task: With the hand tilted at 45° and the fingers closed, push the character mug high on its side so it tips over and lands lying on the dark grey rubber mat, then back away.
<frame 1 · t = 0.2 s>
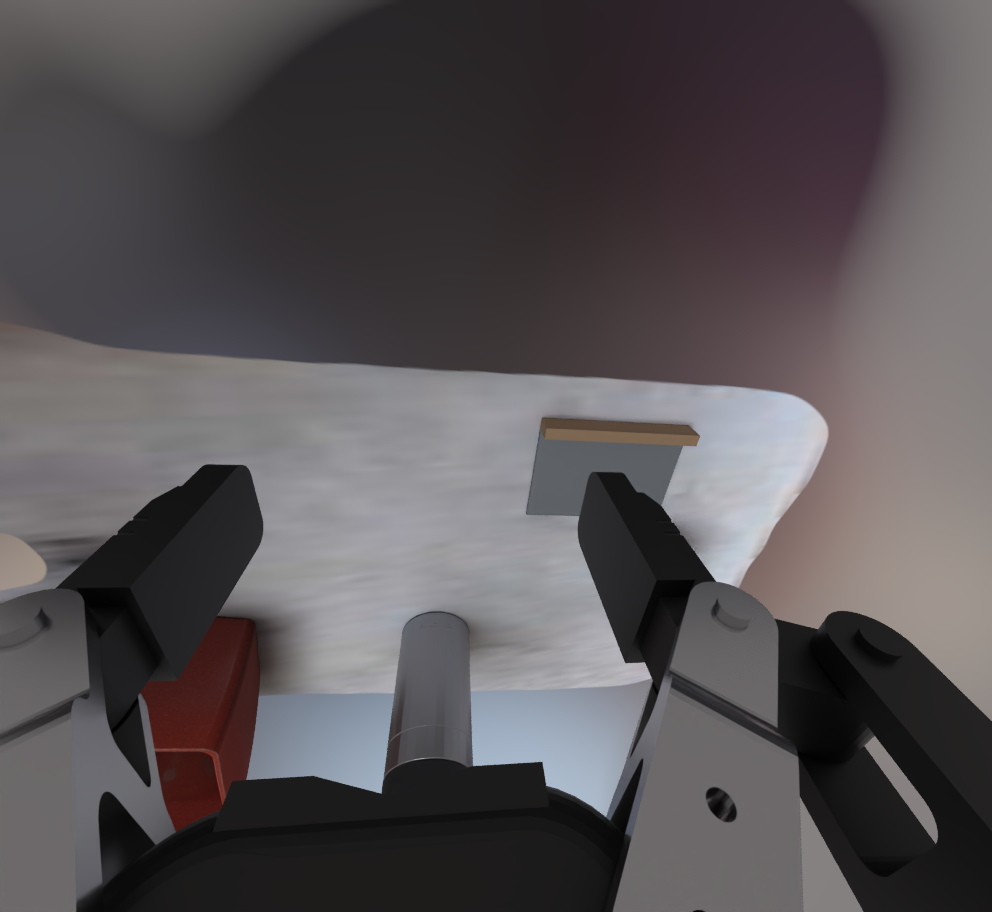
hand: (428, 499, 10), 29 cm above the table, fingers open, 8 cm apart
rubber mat: (602, 475, 46), on the table
plant pot: (209, 644, 54), on the table
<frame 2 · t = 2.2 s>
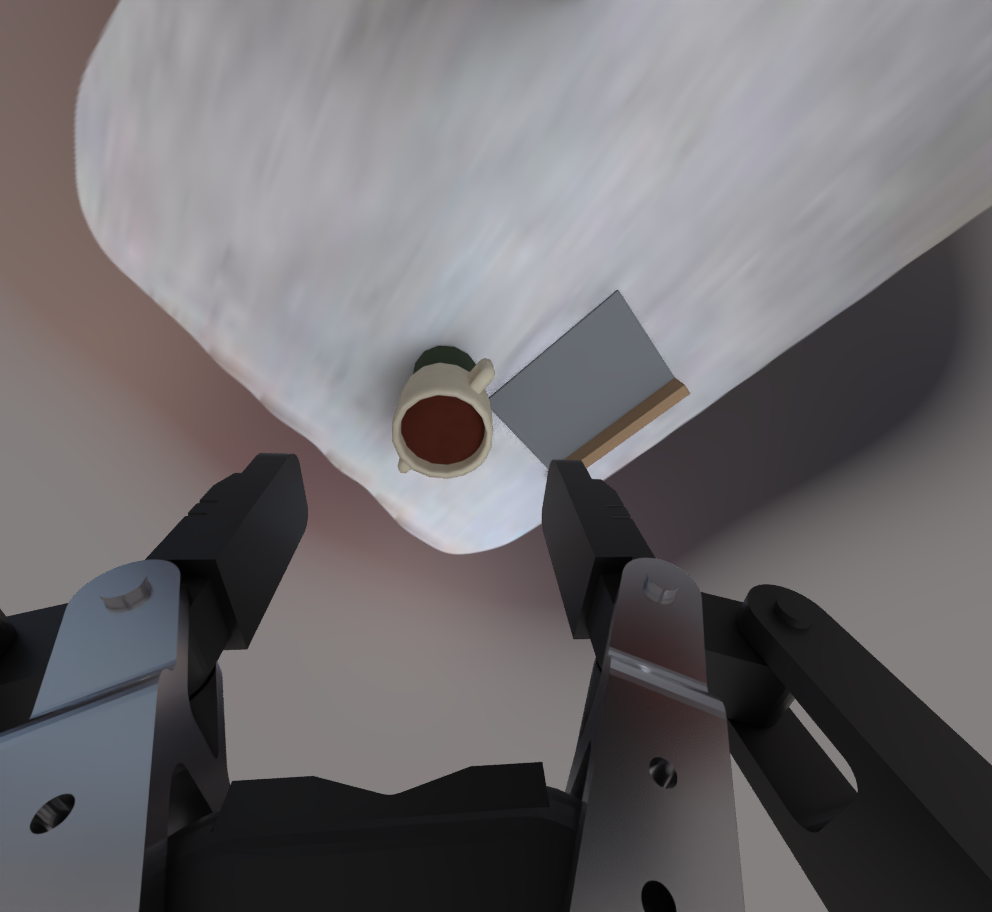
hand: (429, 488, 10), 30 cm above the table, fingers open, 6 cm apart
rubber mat: (579, 389, 41), on the table
character mug: (446, 375, 40), on the table
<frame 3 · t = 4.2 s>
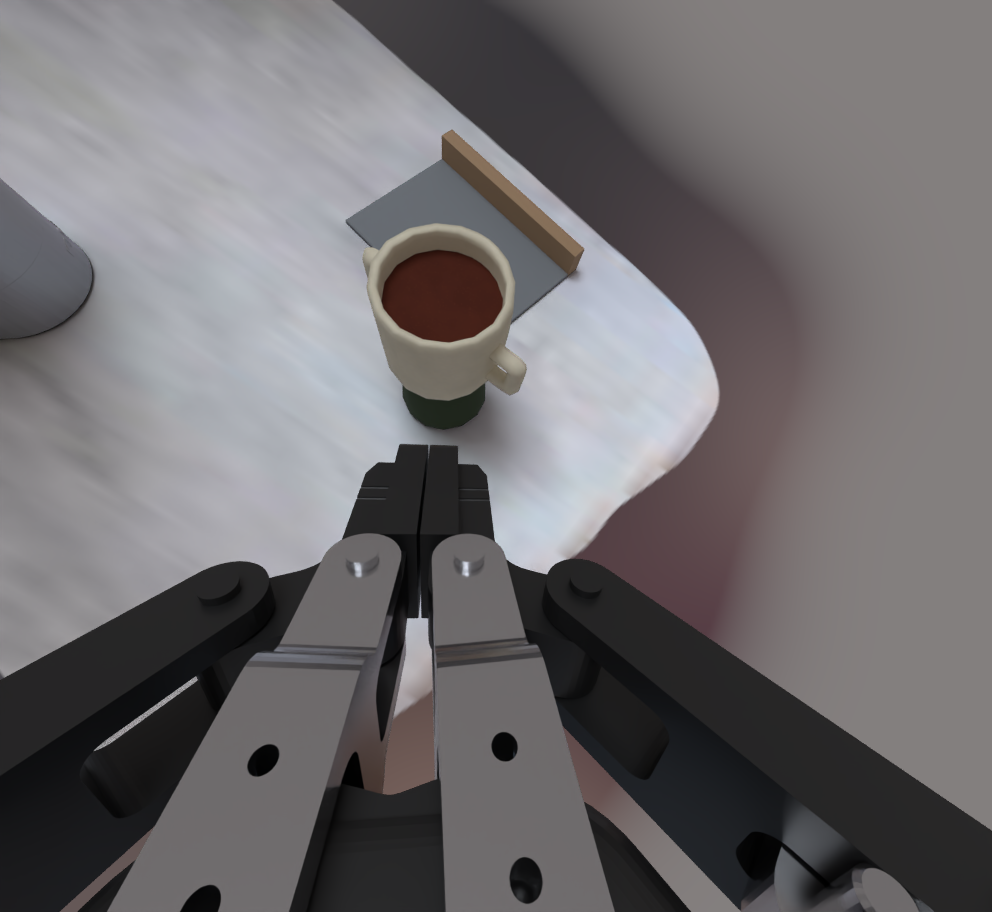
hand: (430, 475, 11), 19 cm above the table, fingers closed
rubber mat: (458, 250, 35), on the table
character mug: (444, 394, 32), on the table
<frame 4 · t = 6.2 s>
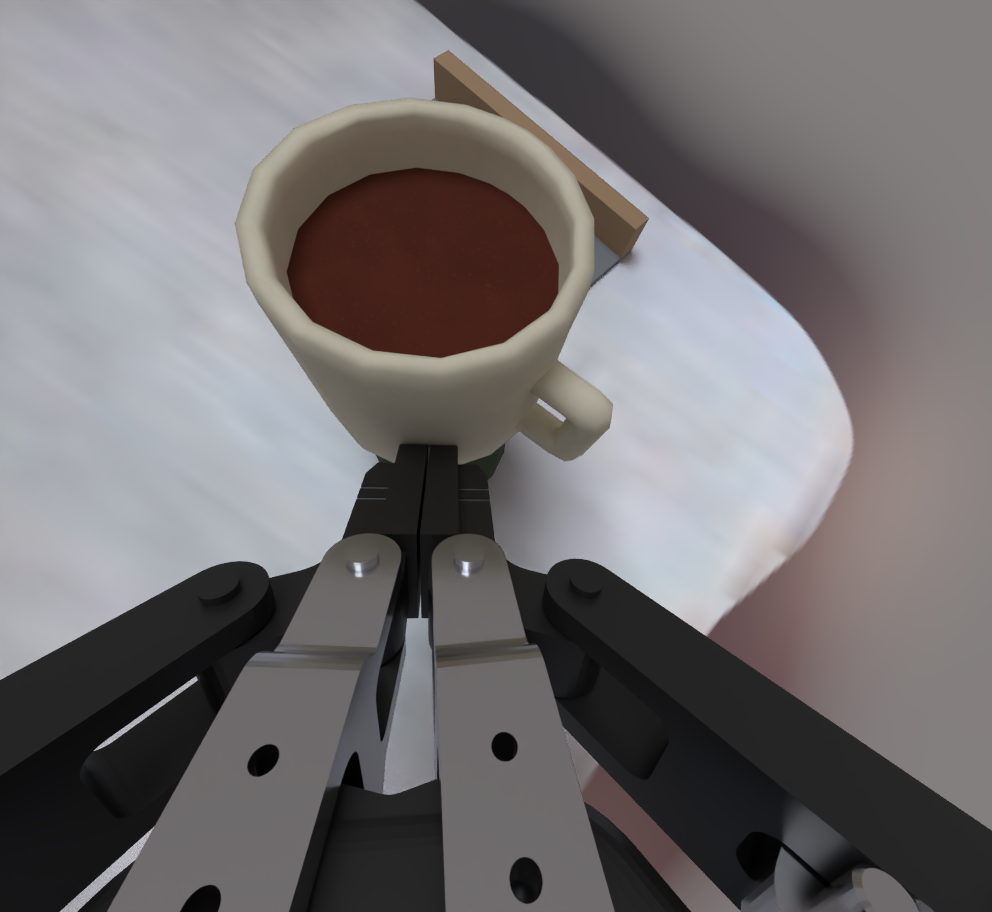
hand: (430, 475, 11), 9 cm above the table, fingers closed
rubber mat: (460, 225, 24), on the table
character mug: (440, 443, 20), on the table
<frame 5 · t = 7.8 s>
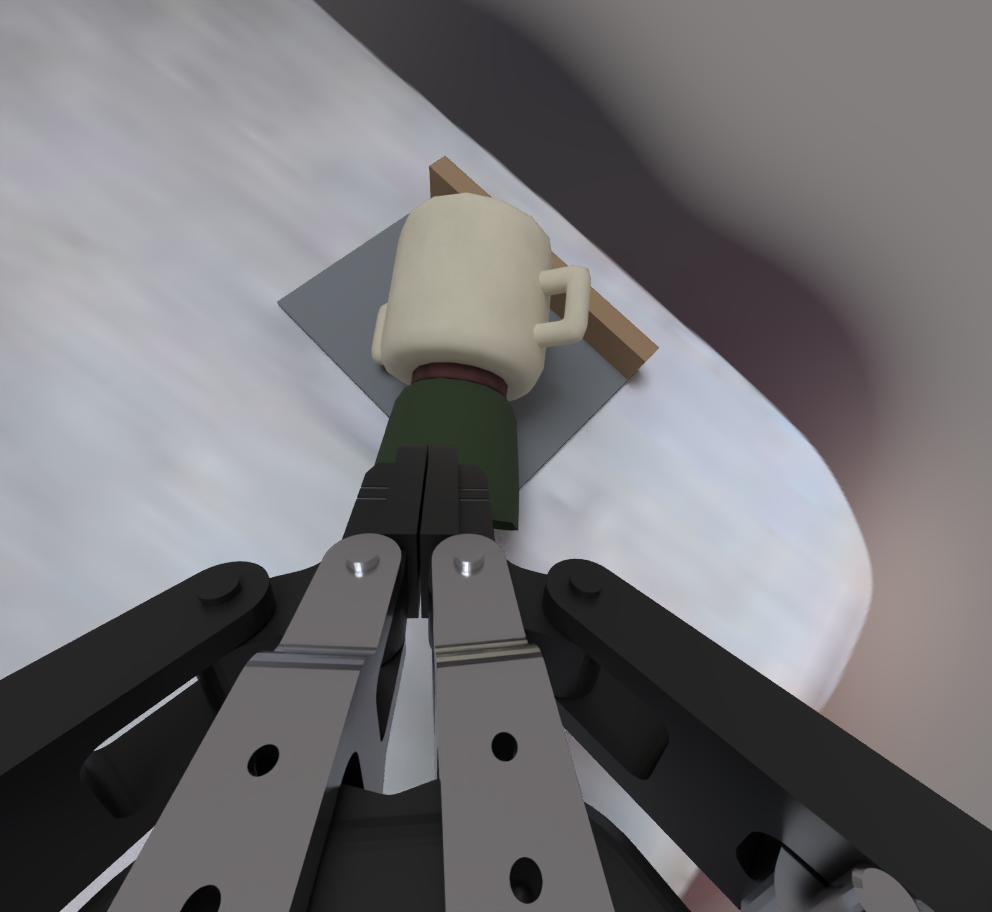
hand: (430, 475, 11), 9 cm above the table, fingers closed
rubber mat: (456, 344, 22), on the table
character mug: (439, 542, 17), point 3 cm above the table, touching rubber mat
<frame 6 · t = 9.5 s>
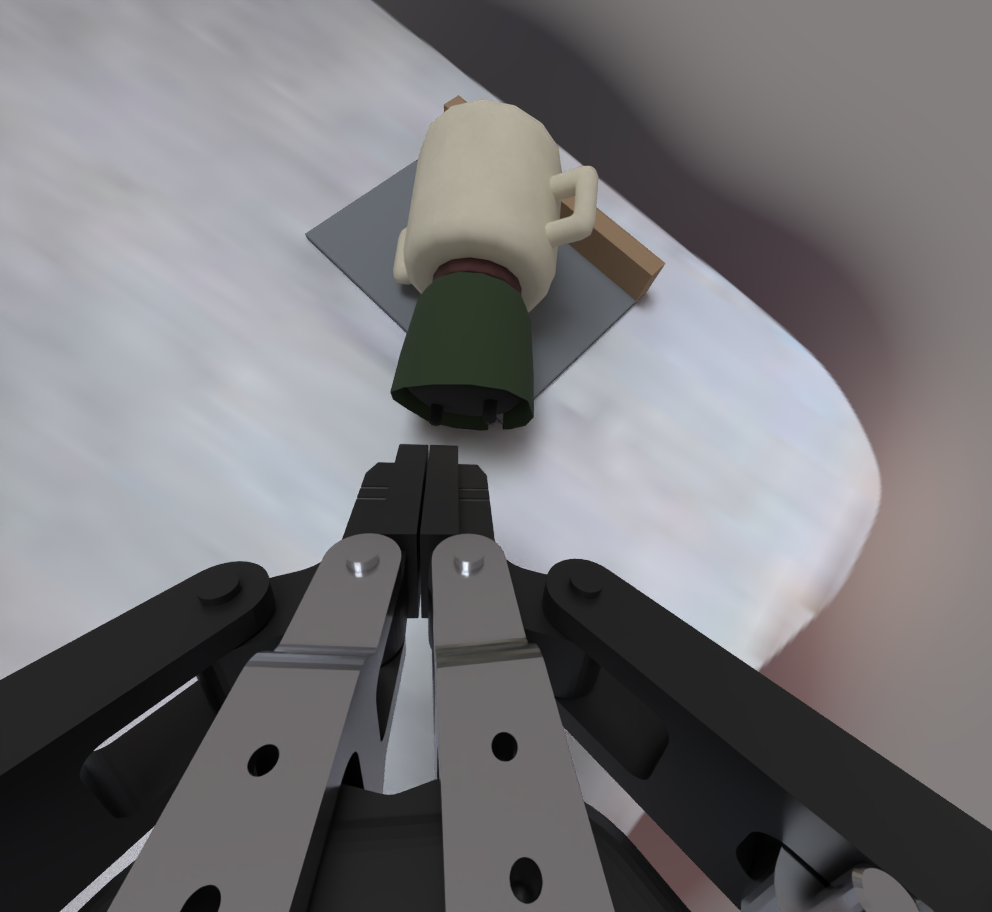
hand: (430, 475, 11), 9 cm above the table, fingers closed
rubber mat: (472, 271, 24), on the table
character mug: (460, 429, 18), point 3 cm above the table, touching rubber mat
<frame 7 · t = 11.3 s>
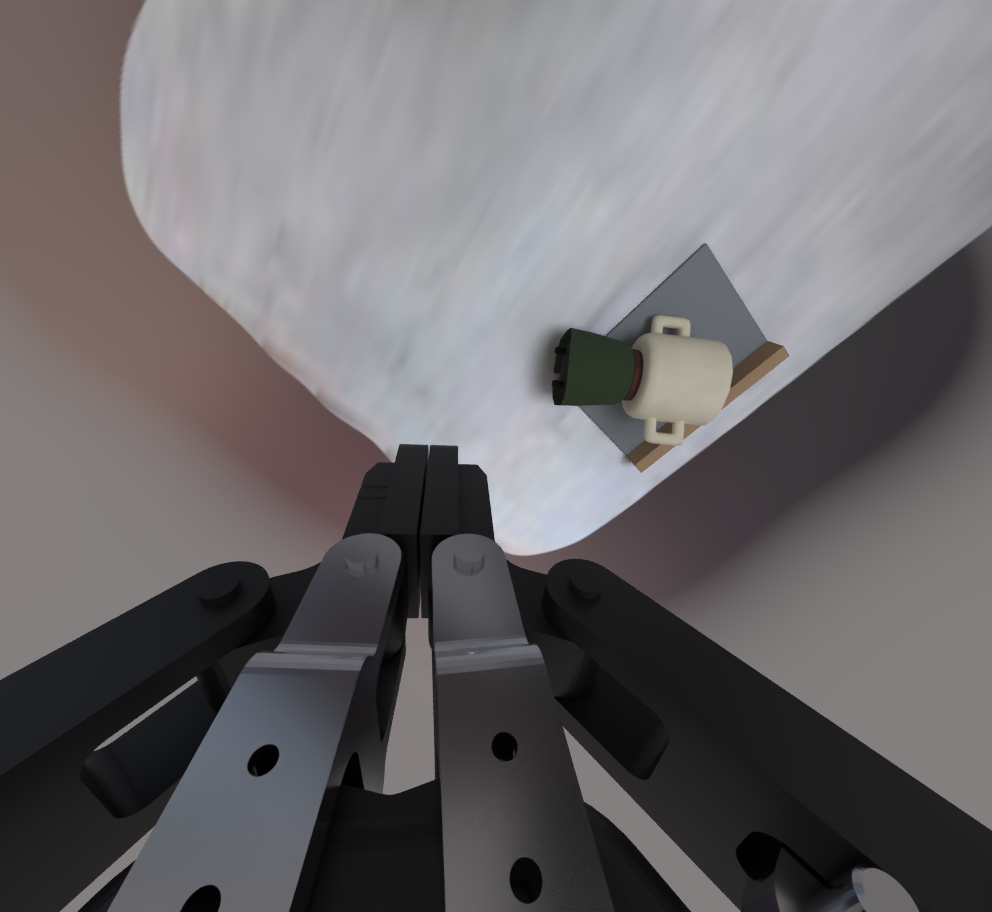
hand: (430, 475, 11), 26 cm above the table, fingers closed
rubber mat: (660, 361, 37), on the table
character mug: (550, 366, 33), point 3 cm above the table, touching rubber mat
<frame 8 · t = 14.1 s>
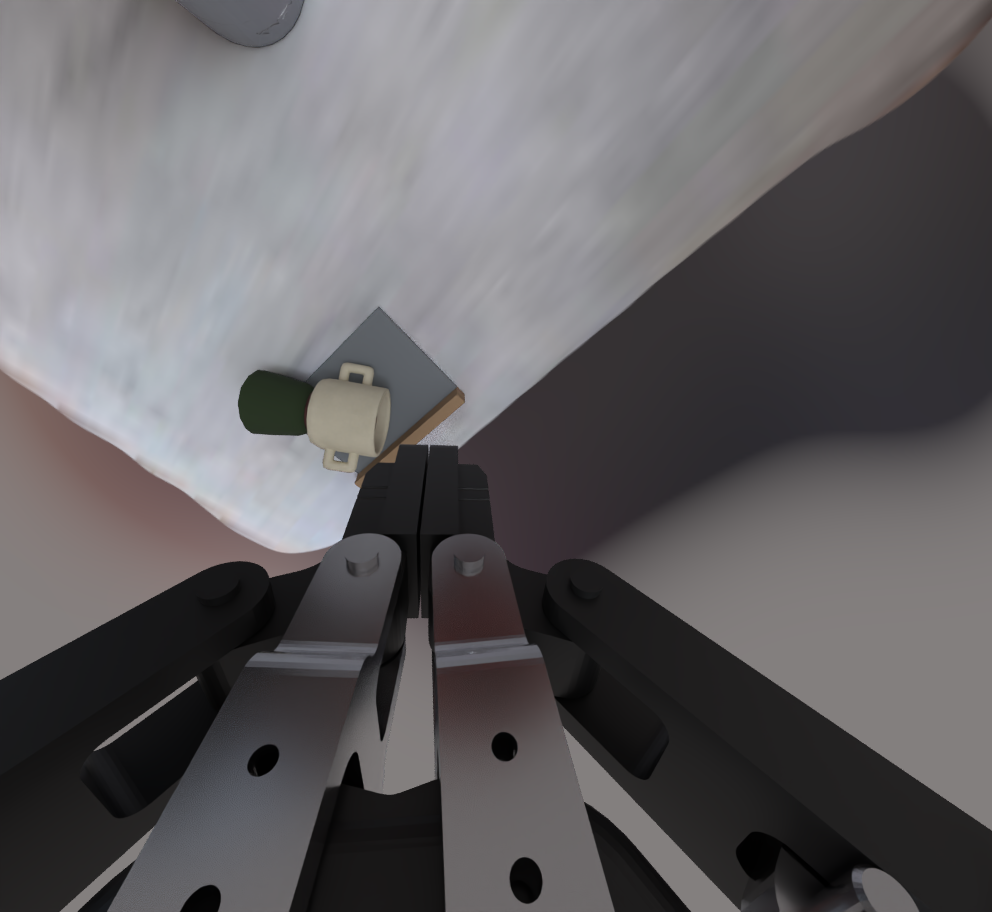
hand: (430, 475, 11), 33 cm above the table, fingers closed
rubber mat: (367, 398, 44), on the table
character mug: (247, 399, 40), point 3 cm above the table, touching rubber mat
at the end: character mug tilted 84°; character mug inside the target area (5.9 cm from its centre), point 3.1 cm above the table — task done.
